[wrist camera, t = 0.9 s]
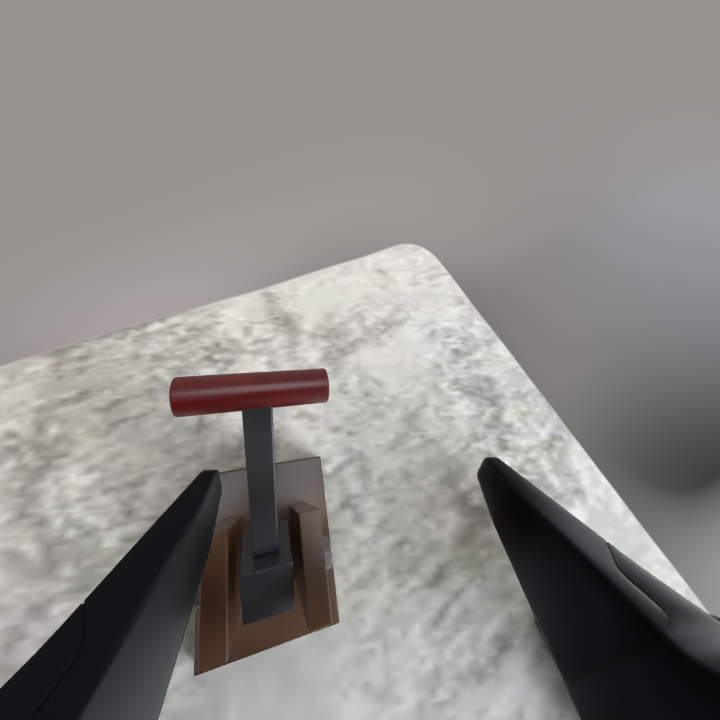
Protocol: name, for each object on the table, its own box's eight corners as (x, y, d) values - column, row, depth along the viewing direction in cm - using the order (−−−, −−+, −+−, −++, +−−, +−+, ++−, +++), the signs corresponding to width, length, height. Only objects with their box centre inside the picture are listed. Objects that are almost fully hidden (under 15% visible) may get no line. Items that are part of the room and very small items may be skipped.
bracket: (203, 476, 19) (164, 470, 12) (317, 457, 22) (341, 443, 15) (198, 664, 16) (138, 816, 9) (335, 615, 18) (378, 699, 11)
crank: (181, 368, 11) (161, 390, 9) (319, 361, 13) (332, 377, 11) (209, 584, 14) (200, 641, 12) (319, 553, 16) (329, 597, 13)
